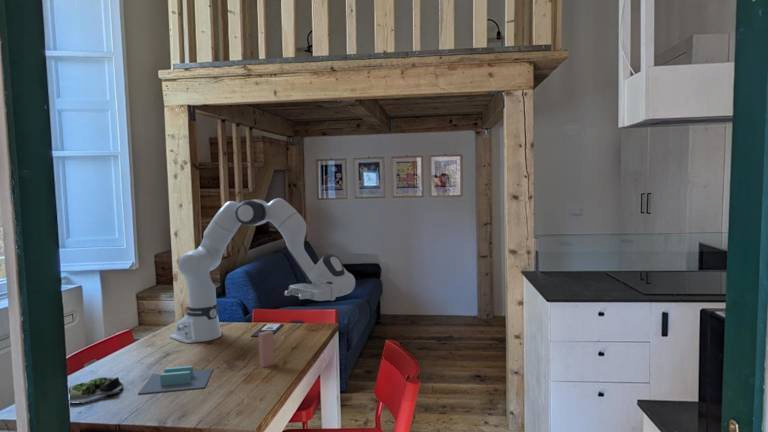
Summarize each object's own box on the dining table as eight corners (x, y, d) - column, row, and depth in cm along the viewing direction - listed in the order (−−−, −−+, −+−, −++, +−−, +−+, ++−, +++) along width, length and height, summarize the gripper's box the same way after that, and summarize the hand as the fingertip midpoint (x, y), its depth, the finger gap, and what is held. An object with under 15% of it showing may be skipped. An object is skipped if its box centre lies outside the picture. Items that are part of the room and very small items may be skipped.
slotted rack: (160, 385, 158) (160, 375, 158) (165, 378, 164) (165, 368, 164) (189, 382, 160) (189, 372, 159) (193, 375, 166) (193, 365, 166)
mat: (138, 394, 152) (138, 393, 152) (152, 375, 168) (152, 374, 168) (204, 388, 156) (204, 387, 156) (212, 370, 172) (212, 369, 172)
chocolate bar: (250, 335, 210) (264, 324, 228) (250, 337, 210) (264, 326, 228) (270, 335, 209) (283, 324, 227) (270, 338, 209) (283, 326, 227)
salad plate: (56, 415, 140) (55, 399, 140) (46, 397, 153) (45, 382, 153) (129, 394, 153) (128, 380, 153) (113, 379, 166) (113, 366, 166)
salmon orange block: (270, 362, 178) (269, 330, 177) (274, 364, 176) (272, 331, 176) (259, 365, 175) (258, 333, 174) (263, 367, 173) (262, 334, 172)
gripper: (305, 278, 200) (276, 283, 190) (337, 284, 185) (308, 290, 176) (306, 293, 200) (277, 299, 190) (338, 300, 186) (308, 307, 176)
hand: (292, 295), depth 183 cm, fingers open, 8 cm apart
